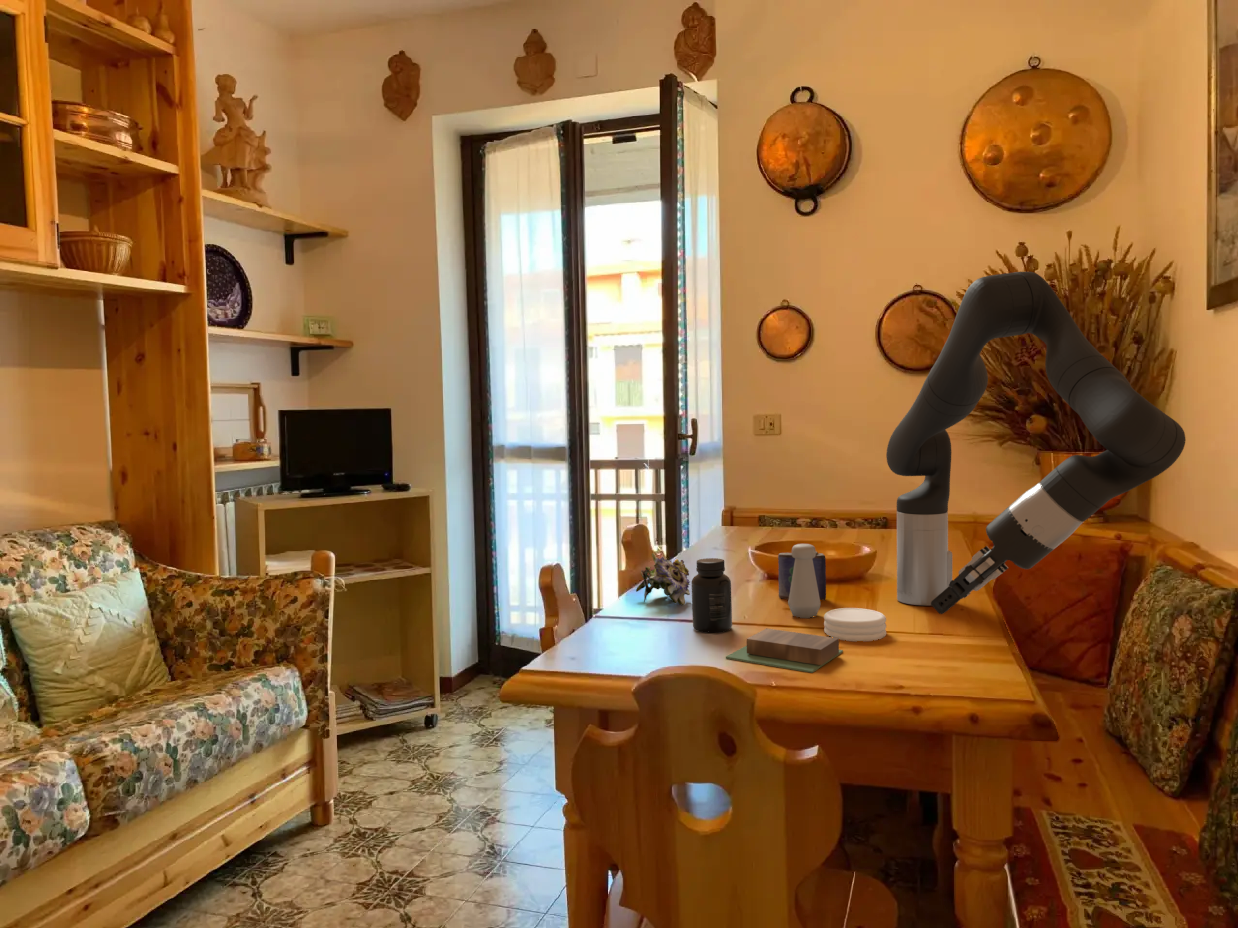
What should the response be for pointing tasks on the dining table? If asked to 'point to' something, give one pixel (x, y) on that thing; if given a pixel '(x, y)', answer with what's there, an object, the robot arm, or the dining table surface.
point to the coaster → (855, 624)
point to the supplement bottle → (711, 597)
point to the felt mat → (775, 661)
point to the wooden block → (793, 646)
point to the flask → (786, 574)
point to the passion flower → (667, 579)
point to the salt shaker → (804, 583)
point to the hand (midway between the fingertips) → (936, 608)
